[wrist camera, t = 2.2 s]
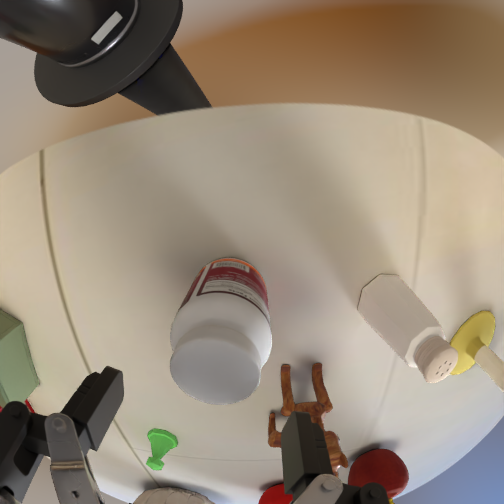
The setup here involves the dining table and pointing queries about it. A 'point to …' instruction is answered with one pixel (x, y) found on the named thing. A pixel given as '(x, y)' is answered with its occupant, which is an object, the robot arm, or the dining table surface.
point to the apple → (380, 471)
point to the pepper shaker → (407, 326)
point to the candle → (478, 347)
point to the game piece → (160, 447)
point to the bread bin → (15, 360)
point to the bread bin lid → (3, 397)
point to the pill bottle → (222, 333)
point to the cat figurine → (316, 413)
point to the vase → (171, 497)
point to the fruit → (276, 496)
